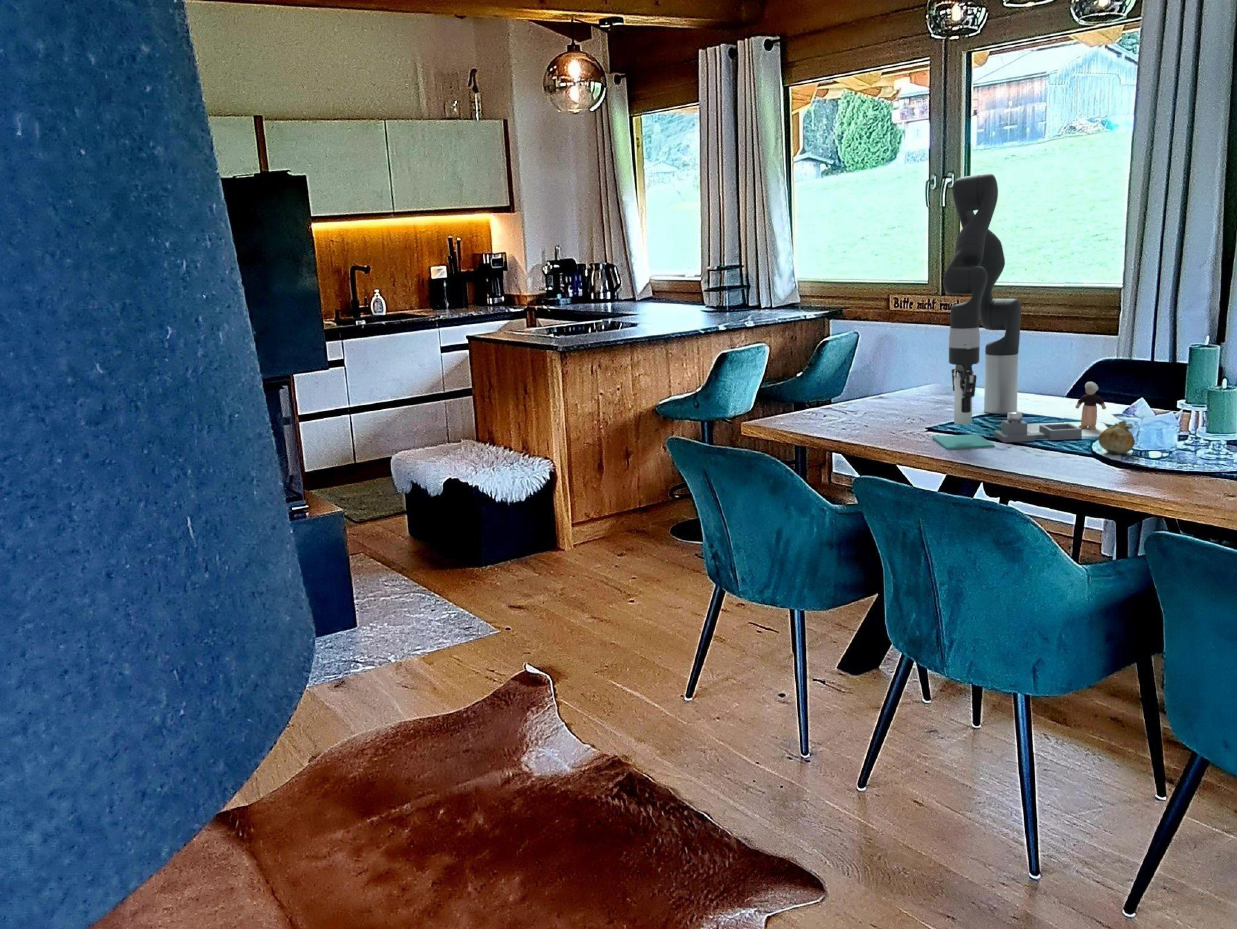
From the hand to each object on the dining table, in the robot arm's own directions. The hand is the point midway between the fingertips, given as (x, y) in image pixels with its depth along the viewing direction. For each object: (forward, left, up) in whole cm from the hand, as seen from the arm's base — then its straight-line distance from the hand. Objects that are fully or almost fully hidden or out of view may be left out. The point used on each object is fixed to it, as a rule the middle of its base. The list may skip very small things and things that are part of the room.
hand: (963, 410), depth 278 cm
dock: (-2, +21, -9) cm, 23 cm away
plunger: (-2, +14, -6) cm, 16 cm away
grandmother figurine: (-10, +37, -9) cm, 39 cm away
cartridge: (0, 0, -3) cm, 3 cm away
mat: (0, 0, -9) cm, 9 cm away
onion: (+20, +31, -9) cm, 38 cm away
